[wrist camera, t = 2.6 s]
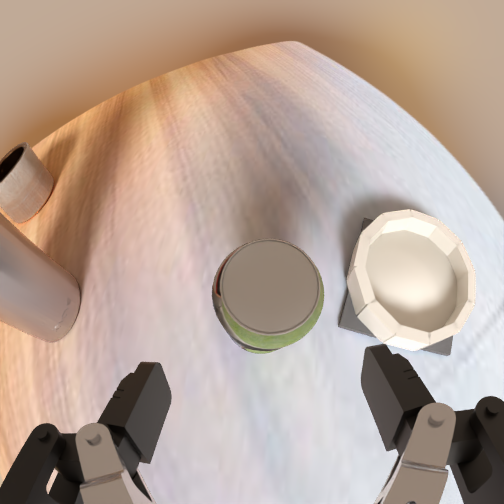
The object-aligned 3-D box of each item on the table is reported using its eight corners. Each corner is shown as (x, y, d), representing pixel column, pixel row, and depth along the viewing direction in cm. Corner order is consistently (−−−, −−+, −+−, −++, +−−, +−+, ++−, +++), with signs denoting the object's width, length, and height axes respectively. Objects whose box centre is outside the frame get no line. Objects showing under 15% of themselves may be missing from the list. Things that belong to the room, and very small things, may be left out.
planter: (63, 170, 39) (37, 133, 31) (42, 220, 34) (7, 182, 26) (28, 183, 40) (3, 152, 32) (8, 229, 35) (-23, 198, 26)
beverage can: (254, 278, 26) (236, 195, 16) (321, 320, 24) (353, 257, 13) (213, 331, 24) (162, 278, 14) (281, 379, 21) (283, 367, 11)
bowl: (332, 328, 22) (339, 319, 20) (360, 212, 28) (367, 195, 25) (453, 360, 19) (470, 354, 17) (460, 247, 25) (473, 233, 22)
